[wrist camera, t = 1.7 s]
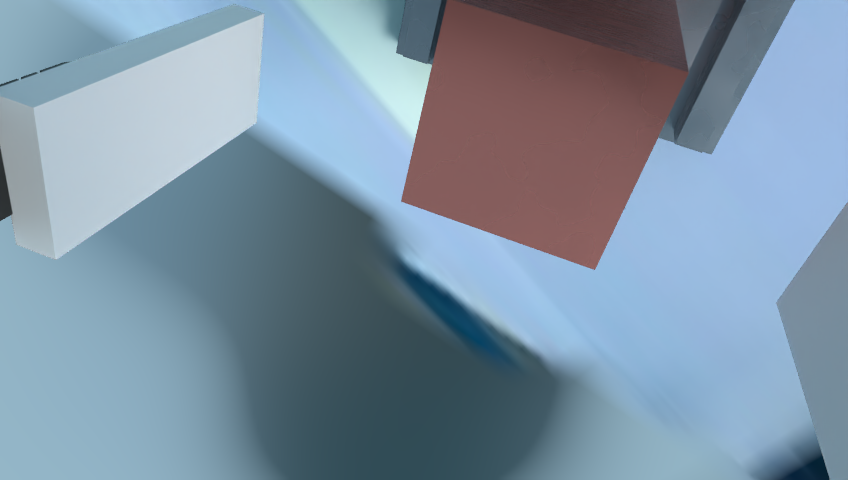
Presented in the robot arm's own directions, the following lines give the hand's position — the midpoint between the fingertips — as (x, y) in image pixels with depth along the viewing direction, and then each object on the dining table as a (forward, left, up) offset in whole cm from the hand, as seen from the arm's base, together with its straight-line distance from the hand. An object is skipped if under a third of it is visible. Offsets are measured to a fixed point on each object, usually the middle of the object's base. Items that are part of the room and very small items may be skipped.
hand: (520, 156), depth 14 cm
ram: (-1, 0, -11) cm, 11 cm away
